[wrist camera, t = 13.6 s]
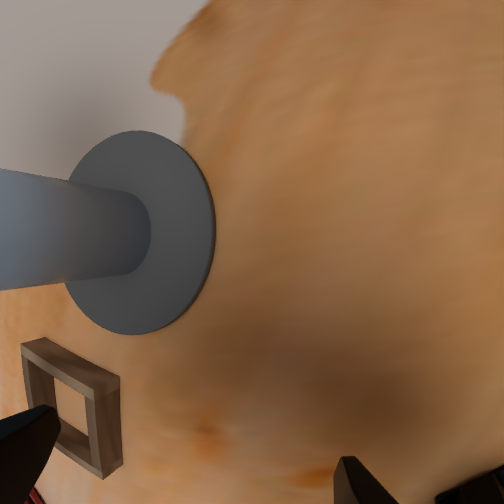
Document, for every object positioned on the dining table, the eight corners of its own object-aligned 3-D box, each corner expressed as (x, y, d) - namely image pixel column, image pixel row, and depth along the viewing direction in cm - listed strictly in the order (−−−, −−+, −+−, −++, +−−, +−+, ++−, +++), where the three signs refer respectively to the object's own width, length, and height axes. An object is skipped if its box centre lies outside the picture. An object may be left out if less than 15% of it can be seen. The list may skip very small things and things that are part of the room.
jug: (170, 222, 19) (-61, 202, 6) (125, 296, 20) (-73, 337, 7) (101, 161, 21) (-75, 117, 8) (66, 229, 22) (-99, 225, 9)
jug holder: (119, 376, 22) (93, 389, 19) (122, 464, 23) (103, 479, 20) (44, 337, 25) (20, 343, 22) (52, 419, 25) (33, 429, 22)
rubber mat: (250, 294, 19) (246, 296, 18) (94, 350, 23) (87, 353, 22) (174, 97, 20) (169, 93, 19) (49, 192, 24) (42, 191, 23)
